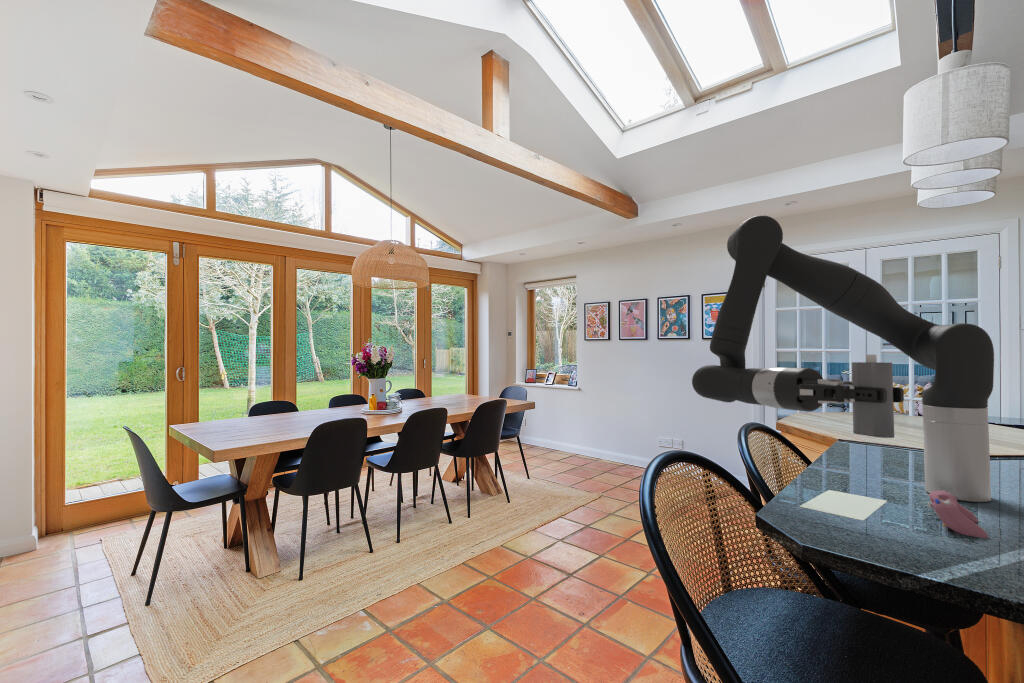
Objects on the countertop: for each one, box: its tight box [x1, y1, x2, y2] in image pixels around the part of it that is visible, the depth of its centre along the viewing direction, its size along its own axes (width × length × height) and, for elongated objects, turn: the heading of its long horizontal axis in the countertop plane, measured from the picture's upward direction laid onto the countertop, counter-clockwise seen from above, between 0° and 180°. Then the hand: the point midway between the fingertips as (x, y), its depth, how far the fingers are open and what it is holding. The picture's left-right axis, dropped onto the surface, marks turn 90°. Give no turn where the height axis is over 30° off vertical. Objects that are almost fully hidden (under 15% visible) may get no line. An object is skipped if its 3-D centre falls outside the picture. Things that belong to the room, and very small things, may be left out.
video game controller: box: [927, 490, 989, 539], centre depth 71 cm, size 10×5×7 cm, turn 142°
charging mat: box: [798, 489, 888, 522], centre depth 81 cm, size 16×9×1 cm, turn 130°
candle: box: [851, 354, 895, 439], centre depth 70 cm, size 5×3×12 cm, turn 20°
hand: (893, 395), depth 67 cm, fingers closed on candle, 3 cm apart
